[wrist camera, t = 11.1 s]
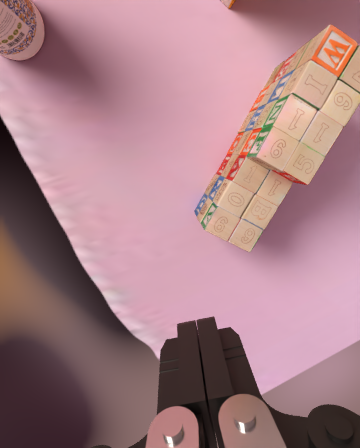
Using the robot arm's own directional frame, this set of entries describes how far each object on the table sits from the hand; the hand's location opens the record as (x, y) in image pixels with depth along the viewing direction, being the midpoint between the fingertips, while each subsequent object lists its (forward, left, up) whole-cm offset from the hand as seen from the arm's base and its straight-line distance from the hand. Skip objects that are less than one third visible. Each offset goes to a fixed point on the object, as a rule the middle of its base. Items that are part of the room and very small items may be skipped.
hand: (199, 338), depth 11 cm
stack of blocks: (-12, -5, -29) cm, 31 cm away
